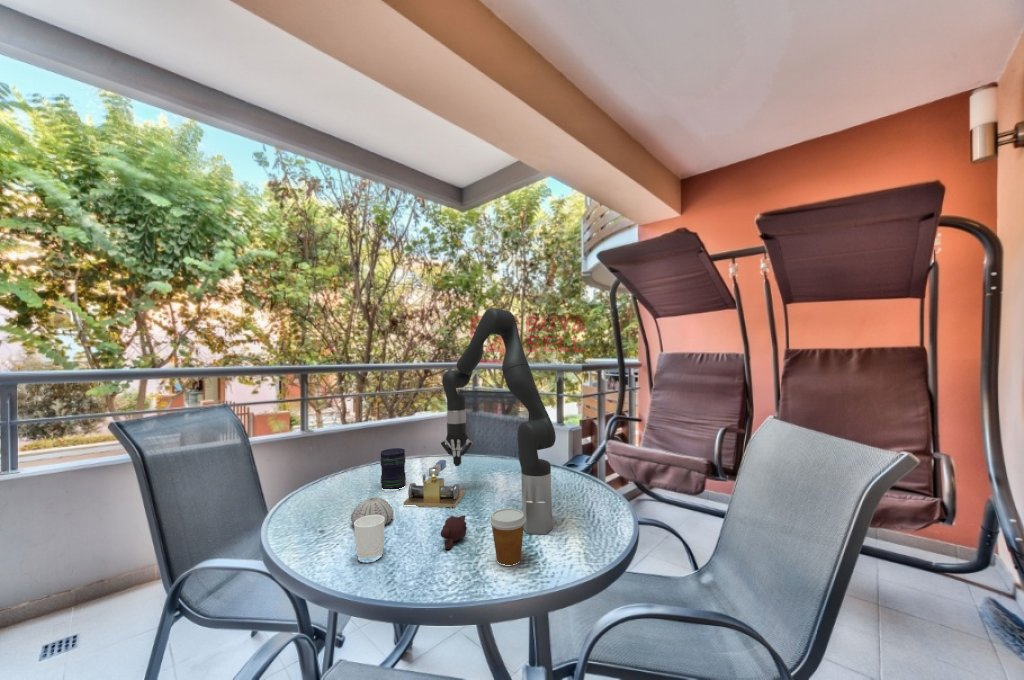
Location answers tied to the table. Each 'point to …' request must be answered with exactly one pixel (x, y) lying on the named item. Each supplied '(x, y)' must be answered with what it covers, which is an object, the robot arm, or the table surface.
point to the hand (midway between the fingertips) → (457, 465)
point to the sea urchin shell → (373, 509)
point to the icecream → (453, 530)
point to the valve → (434, 493)
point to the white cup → (369, 536)
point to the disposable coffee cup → (508, 534)
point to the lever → (437, 468)
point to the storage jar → (393, 468)
